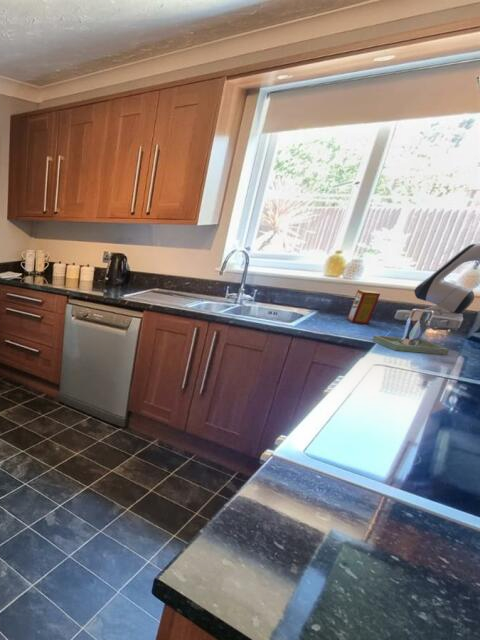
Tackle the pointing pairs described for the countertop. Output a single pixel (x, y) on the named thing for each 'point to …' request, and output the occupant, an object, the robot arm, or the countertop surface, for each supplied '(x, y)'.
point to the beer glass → (416, 326)
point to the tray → (423, 346)
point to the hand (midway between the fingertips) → (422, 320)
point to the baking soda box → (363, 306)
